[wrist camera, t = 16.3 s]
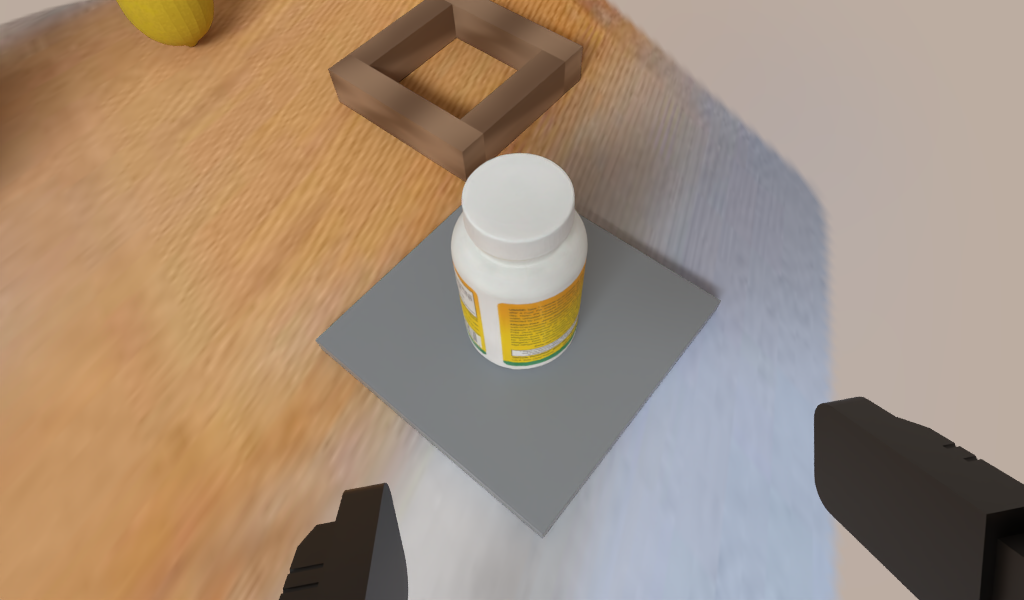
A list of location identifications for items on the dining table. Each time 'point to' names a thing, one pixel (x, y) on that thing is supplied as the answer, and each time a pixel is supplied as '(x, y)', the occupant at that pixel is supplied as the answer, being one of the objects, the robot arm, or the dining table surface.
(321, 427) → the dining table surface
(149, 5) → the lemon
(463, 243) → the supplement bottle
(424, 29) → the walnut holder
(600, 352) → the slate board
